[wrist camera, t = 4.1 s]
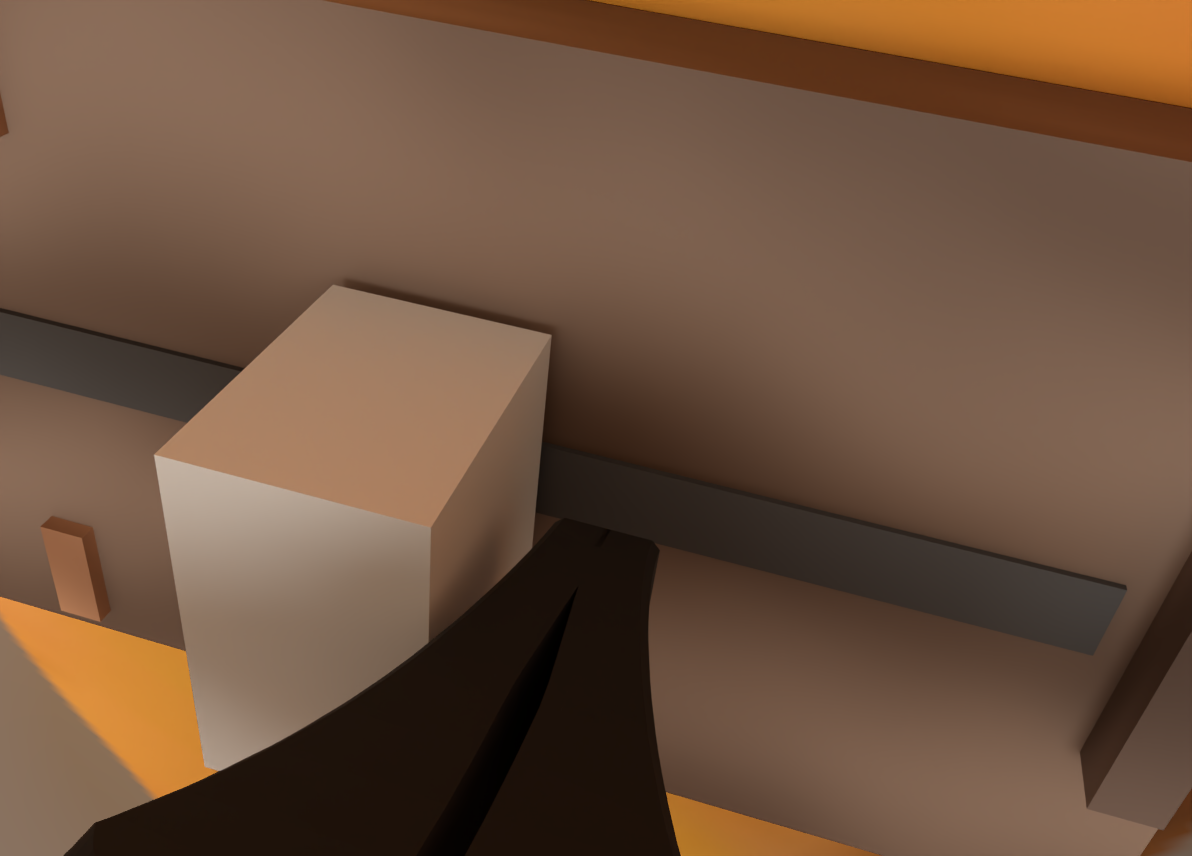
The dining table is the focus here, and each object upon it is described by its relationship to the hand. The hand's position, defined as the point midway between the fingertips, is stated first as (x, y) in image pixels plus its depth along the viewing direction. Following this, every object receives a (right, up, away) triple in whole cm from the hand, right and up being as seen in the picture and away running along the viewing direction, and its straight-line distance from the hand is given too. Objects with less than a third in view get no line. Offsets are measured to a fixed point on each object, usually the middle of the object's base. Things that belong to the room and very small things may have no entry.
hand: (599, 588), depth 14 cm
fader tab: (-2, +2, +2) cm, 3 cm away
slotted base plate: (-2, +3, +4) cm, 5 cm away
